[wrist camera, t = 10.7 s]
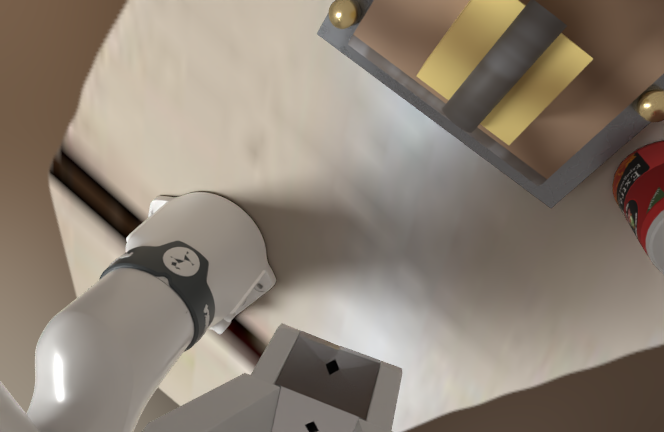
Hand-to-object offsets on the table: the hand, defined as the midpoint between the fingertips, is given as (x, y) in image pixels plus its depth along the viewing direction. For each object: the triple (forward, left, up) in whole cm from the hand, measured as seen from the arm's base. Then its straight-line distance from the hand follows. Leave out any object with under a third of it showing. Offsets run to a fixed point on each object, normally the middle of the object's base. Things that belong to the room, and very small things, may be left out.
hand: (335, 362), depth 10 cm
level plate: (+8, -2, -32) cm, 33 cm away
